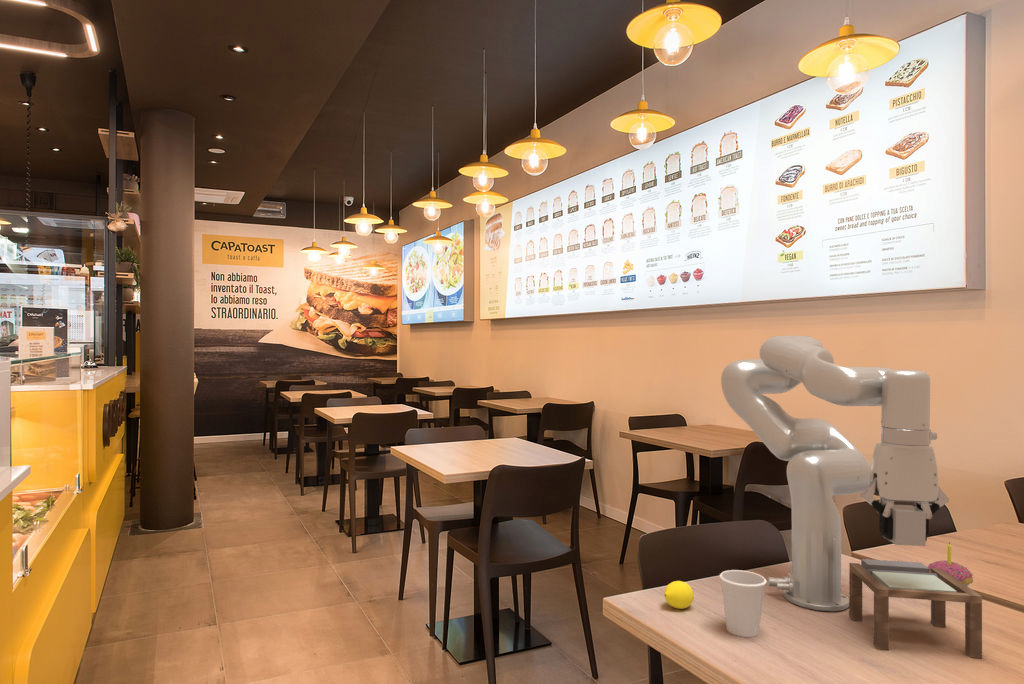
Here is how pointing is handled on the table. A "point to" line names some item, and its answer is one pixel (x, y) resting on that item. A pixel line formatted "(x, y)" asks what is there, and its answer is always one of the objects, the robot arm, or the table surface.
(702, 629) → the table surface
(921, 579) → the trapdoor
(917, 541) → the stone
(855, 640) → the table surface
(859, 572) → the stand
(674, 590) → the lemon
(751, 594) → the dixie cup
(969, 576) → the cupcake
